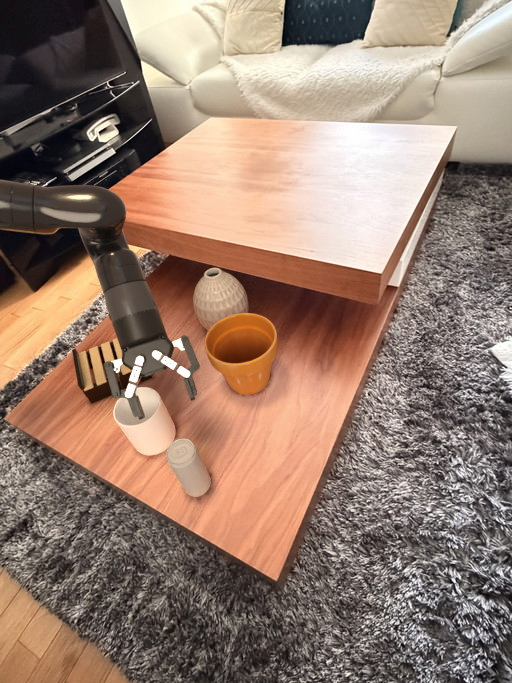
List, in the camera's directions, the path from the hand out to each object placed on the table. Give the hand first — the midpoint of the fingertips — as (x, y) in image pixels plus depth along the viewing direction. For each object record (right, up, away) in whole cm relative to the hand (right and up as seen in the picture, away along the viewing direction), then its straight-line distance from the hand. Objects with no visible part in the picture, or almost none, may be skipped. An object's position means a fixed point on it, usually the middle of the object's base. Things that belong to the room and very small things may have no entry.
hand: (167, 409), depth 63 cm
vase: (+7, +14, +34) cm, 38 cm away
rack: (-18, +4, +28) cm, 33 cm away
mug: (-7, -8, +15) cm, 18 cm away
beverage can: (+4, -15, +6) cm, 16 cm away
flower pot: (+13, +3, +21) cm, 25 cm away
